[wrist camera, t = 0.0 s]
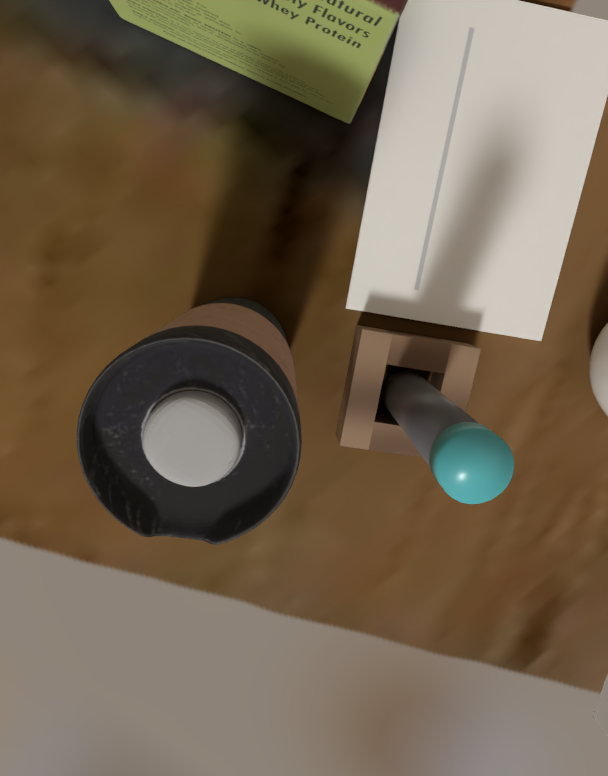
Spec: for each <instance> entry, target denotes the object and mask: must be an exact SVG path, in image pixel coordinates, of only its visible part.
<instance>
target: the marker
mask: <svg viewBox="0 0 608 776" xmlns="http://www.w3.org/2000/svg"><path fill="white" fill-rule="evenodd" d="M382 399H383V402H384V404H385V406H386V408H387V409H388V410H389V412H390V413H391V414H392V416H393V417H394V418H395V420H396V421H397V423H398V424H399V425H400V427H401V428H402V429H403V431H404V432H405V433H406V435H407V436H408V437H409V439H410V440H411V442H412V443H413V444H414V446H415V447H416V448H417V450H418V451H419V452H420V454H421V455H422V457H423V458H424V459H425V461H426V462H427V463H428V465H429V466H430V468H431V471H432V473H433V475H434V476H435V478H436V479H437V481H438V482H439V483H440V485H441V486H442V487H443V489H444V490H445V491H446V493H447V494H448V495H449V496H451V497H452V498H453V499H455V500H457V501H460V502H462V503H467V504H478V503H483V502H486V501H489V500H491V499H493V498H495V497H496V496H498V495H499V494H500V493H501V492H502V491H503V490H504V489H505V488H506V487H507V485H508V484H509V482H510V480H511V478H512V475H513V471H514V458H513V454H512V452H511V450H510V448H509V446H508V445H507V444H506V443H505V442H504V441H503V440H502V439H501V438H500V437H499V436H497V435H496V434H495V433H494V432H492V431H491V430H490V429H488V428H487V427H485V426H484V425H482V424H479V423H478V422H477V421H475V420H474V419H473V418H472V417H470V416H469V415H468V414H467V413H466V412H464V411H463V410H462V409H461V408H459V407H458V406H457V405H456V404H454V403H453V402H452V401H451V400H450V399H448V398H447V397H446V396H445V395H443V394H442V393H441V392H440V391H439V390H437V389H436V388H435V387H434V386H432V385H431V384H430V383H429V382H428V381H426V380H425V379H424V378H423V377H421V376H420V375H419V374H417V373H415V372H413V371H400V372H397V373H395V374H393V375H392V376H390V377H389V378H388V379H387V381H386V382H385V384H384V386H383V389H382Z"/></svg>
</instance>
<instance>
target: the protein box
mask: <svg viewBox="0 0 608 776" xmlns="http://www.w3.org/2000/svg"><path fill="white" fill-rule="evenodd" d="M109 1H110V2H111V4H112V6H113V7H114V9H115V10H116V12H117V13H118V15H119V16H120V17H121V18H123V19H124V20H127V21H129V22H131V23H133V24H135V25H137V26H139V27H142V28H144V29H146V30H148V31H150V32H152V33H155V34H157V35H159V36H161V37H163V38H165V39H168V40H170V41H172V42H174V43H176V44H178V45H181V46H183V47H185V48H187V49H189V50H191V51H193V52H196V53H198V54H200V55H202V56H204V57H206V58H208V59H210V60H213V61H215V62H217V63H219V64H221V65H223V66H226V67H228V68H230V69H232V70H234V71H236V72H238V73H241V74H243V75H245V76H247V77H249V78H251V79H253V80H255V81H258V82H260V83H262V84H264V85H266V86H268V87H271V88H273V89H275V90H277V91H279V92H281V93H284V94H286V95H288V96H290V97H292V98H294V99H296V100H299V101H301V102H303V103H305V104H307V105H309V106H311V107H313V108H315V109H317V110H320V111H322V112H324V113H326V114H328V115H330V116H332V117H334V118H337V119H339V120H341V121H343V122H345V123H348V124H349V123H351V122H352V120H353V118H354V116H355V114H356V112H357V110H358V108H359V105H360V103H361V101H362V99H363V97H364V94H365V92H366V90H367V88H368V86H369V84H370V82H371V79H372V77H373V75H374V73H375V71H376V69H377V66H378V64H379V62H380V60H381V58H382V55H383V53H384V51H385V49H386V47H387V44H388V42H389V40H390V38H391V36H392V34H393V31H394V29H395V27H396V25H397V23H398V20H399V18H400V16H401V14H402V12H403V10H404V8H405V6H406V4H407V1H408V0H109Z"/></svg>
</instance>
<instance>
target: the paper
mask: <svg viewBox="0 0 608 776" xmlns="http://www.w3.org/2000/svg"><path fill="white" fill-rule="evenodd" d="M607 95H608V20H604V19H600V18H595V17H591V16H586V15H582V14H577V13H573V12H568V11H564V10H559V9H555V8H551V7H546V6H542V5H537V4H533V3H528V2H524V1H519V0H408V1H407V4H406V6H405V8H404V10H403V12H402V14H401V16H400V18H399V21H398V26H397V32H396V37H395V42H394V48H393V53H392V59H391V64H390V69H389V75H388V80H387V86H386V91H385V96H384V102H383V107H382V113H381V118H380V123H379V129H378V134H377V140H376V145H375V150H374V156H373V161H372V167H371V172H370V177H369V183H368V188H367V194H366V199H365V204H364V210H363V215H362V221H361V226H360V231H359V237H358V242H357V248H356V253H355V258H354V264H353V269H352V274H351V280H350V285H349V291H348V296H347V301H346V307H345V308H347V309H353V310H359V311H365V312H371V313H376V314H382V315H388V316H394V317H400V318H406V319H412V320H418V321H424V322H430V323H436V324H442V325H448V326H454V327H460V328H466V329H472V330H478V331H484V332H490V333H496V334H502V335H507V336H513V337H519V338H525V339H531V340H537V341H541V340H542V336H543V333H544V329H545V325H546V322H547V318H548V314H549V310H550V307H551V303H552V299H553V296H554V292H555V288H556V284H557V281H558V277H559V273H560V270H561V266H562V262H563V259H564V255H565V251H566V247H567V244H568V240H569V236H570V233H571V229H572V225H573V221H574V218H575V214H576V210H577V207H578V203H579V199H580V196H581V192H582V188H583V184H584V181H585V177H586V173H587V170H588V166H589V162H590V158H591V155H592V151H593V147H594V144H595V140H596V136H597V132H598V129H599V125H600V121H601V118H602V114H603V110H604V107H605V103H606V99H607Z"/></svg>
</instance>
